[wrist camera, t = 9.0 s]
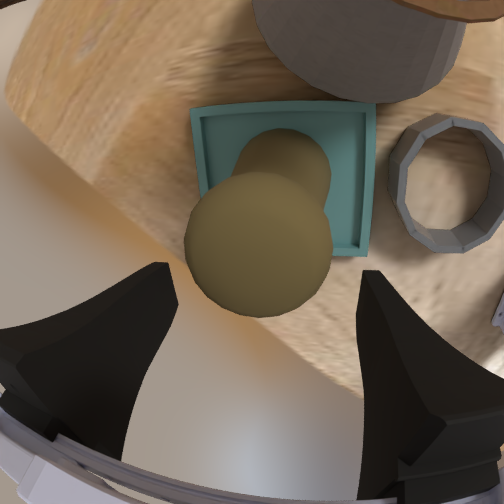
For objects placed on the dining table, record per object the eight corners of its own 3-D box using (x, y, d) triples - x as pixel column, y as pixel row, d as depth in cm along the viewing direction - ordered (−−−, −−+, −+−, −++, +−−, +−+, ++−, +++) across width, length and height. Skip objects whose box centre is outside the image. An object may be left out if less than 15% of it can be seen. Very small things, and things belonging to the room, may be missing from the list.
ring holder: (483, 238, 18) (497, 254, 16) (383, 233, 20) (390, 251, 18) (500, 125, 14) (519, 132, 12) (390, 107, 16) (401, 109, 14)
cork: (297, 236, 21) (279, 365, 11) (219, 189, 20) (137, 287, 11) (350, 163, 17) (390, 252, 8) (265, 109, 17) (202, 135, 8)
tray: (364, 248, 21) (367, 256, 20) (213, 244, 23) (208, 252, 22) (372, 102, 16) (375, 103, 15) (196, 107, 18) (189, 108, 17)
